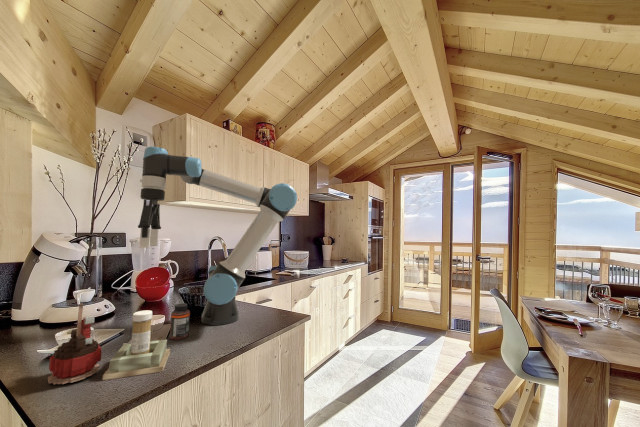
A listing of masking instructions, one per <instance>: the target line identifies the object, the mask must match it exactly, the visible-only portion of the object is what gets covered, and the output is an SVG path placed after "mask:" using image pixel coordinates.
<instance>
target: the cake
mask: <svg viewBox="0 0 640 427" xmlns="http://www.w3.org/2000/svg"><path fill="white" fill-rule="evenodd" d="M83 310H84V303H79V304H78V316H77V325H76V328H74V329H71V331H70V338H69V339H68V341H66V342H62V344H61V345H60V346H58V347H57V349H55V350H54V353H53V354H52V356H49V362H48V363H49V364H48V369H49V372H50V373H51V372H52V373H51V374H50V375H49V376H47V382H48V384H53V385H64V384H67V383H68V384H69V383H70V384H71V383H74V382H76V383H77V382H78V381H81V380H85V379H86V378H89V377H91V376H93V375H94V374H96V373H98V370H100V364H98V362H101V360H102V347H101V346H100V343H99V342H98V341H97V340H95V339H94V338H93V337H92V334H91V333H92V332H91V330H92V329H91V326H92V324H94V323H95V315H90V316H85V317H84V318H83Z"/></svg>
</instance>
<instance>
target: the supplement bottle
mask: <svg viewBox="0 0 640 427" xmlns="http://www.w3.org/2000/svg"><path fill="white" fill-rule="evenodd" d="M190 315H191V311H190V310H189V309H188V303H184V302H180V303H177V304H174V309H173V311H171V314H170V328H169V329H170V330H169V331H170V332H169V338H170V339H171V340H173V341H174V340H176V341H177V340H178V341H179V340H183V339H185V338H187V337H188V336H189V333H190V318H191V317H190Z"/></svg>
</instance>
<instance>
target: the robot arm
mask: <svg viewBox="0 0 640 427" xmlns="http://www.w3.org/2000/svg"><path fill="white" fill-rule="evenodd" d="M143 152H144V153H143V158H142V161H143V162H142V175H141V177H142V178H141V179H140V180H139V181H140V182H141V187H142V188H141V189H140V199H141V200H143V204H142V206H143V207H142V210H141V211H142V212H141V215H140V220H139V223H138V225H137V228H138V229H140V236H139V237H140V238H139V247H138V248H141V249H143V248H147V249H149V248H150V247H158V244H159V230H161V229H162V226H161V215H160V214H161V213H160V212H161V211H160V207H161V204H160V203H158V202H159V201H160V202H163V201H165V199H166V198H165V197H166V191H165V190H166V185H167V184H166V182H167V176H179V177H180V178H181V180H182V181H183V182H184V183H186V184H189V185H195V186H200V187H202V188H206V189H209V190H212V191H214V192H218V193H221V194H224V195H228V196H231V197H234V198H237V199H240V200H243V201H245V202H250V203H253V204H255V206H256V207H257V208H260V209H259V210H260V211H259V212H258V213H257V215H256V216H255V218H254V219H253V220H252V223H251V224H250V225H249V226H248V228H247V229H246V231H245V233H244V234H243V235H242V237H241V238H240V240H239V241H238V242H237V244H236V245H235V246H234V248H233V249H232V251H231V252H230V254H229V255H228V256H227V258H226V259H225V260H223V261H219V262H218V264H217V265H211V266H209V267H208V271H207V275H208V276H207V277H208V278H207V279H206V280H205V282H204V286H203V294H204V296H205V299H206V304H205V306H204V309H203V311H202V313H201V319H200V320H201V323H202V324H204V325H210V326H220V325H228V324H231V323H234V322H236V321H238V320H239V316H240V312H239V308H238V305H237V301H236V295H237V293H238V289H239V288H240V286H241V285H242V283H243V282H244V281H245V279H246V273H245V272H246V270H247V269H248V267H249V266H250V264H251V263H252V262H253V260H254V258H255V256H256V255H257V254H258V252H259V251H260V249H261V248H262V247H263V245H264V243H265V242H266V241H267V239H268V237H269V236H270V235H271V233H272V231H273V230H274V228H275V227H276V226H277V224H278V223H279V222H283V221H284V220H285V218H286V217H287V215H288V214H289V212H290V211H291V210H292V209H293V208H295V206H296V204H297V201H298V195H297V192H296V190H295V188H293V186H291V184H288V183H284V182H283V183H282V182H281V183H278V184H277V183H276V184H275V185H273V186H272V187H271V188H267V187H264V186H262V187H259V186H255V185H252V184H249V183H246V182H243V181H240V180H238V179H237V180H236V179H233V178H232V177H228V176H225V175H222V174H219V173H216V172H212V171H210V170H208V169H204V168H202V164H203V163H202V159H201V158H199V157H193V156H183V155H173V154H168V151H167V149H165V148H163V147H158V146H146V147H145V148H144V151H143Z"/></svg>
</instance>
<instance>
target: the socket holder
mask: <svg viewBox="0 0 640 427" xmlns="http://www.w3.org/2000/svg"><path fill="white" fill-rule="evenodd" d="M167 343H168V339H160V340H150V349H149V353H146V354H138V355H131V343H124V344H123V345H122V346H121V347H120V348H119V350H118V351H116V353H115V354H114V355H113V357H112V358H111V359H110V360H109V366H108V369H107V370H105V372H104V373H103V374H102V381H107V380H113V379H114V380H115V379H121V378H127V377H128V378H129V377H133V376H134V377H135V376H140V375H147V374H153V373H161V372H163V371H164V369H165V366H166V364H167V361H168V358H169V356H170V354H171V348H167V346H168V344H167Z"/></svg>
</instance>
